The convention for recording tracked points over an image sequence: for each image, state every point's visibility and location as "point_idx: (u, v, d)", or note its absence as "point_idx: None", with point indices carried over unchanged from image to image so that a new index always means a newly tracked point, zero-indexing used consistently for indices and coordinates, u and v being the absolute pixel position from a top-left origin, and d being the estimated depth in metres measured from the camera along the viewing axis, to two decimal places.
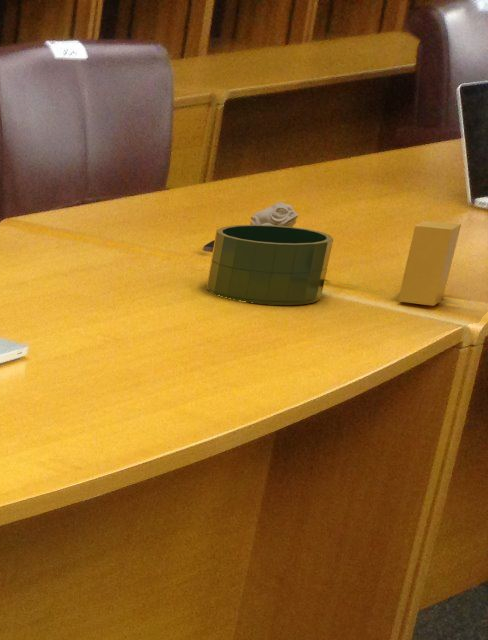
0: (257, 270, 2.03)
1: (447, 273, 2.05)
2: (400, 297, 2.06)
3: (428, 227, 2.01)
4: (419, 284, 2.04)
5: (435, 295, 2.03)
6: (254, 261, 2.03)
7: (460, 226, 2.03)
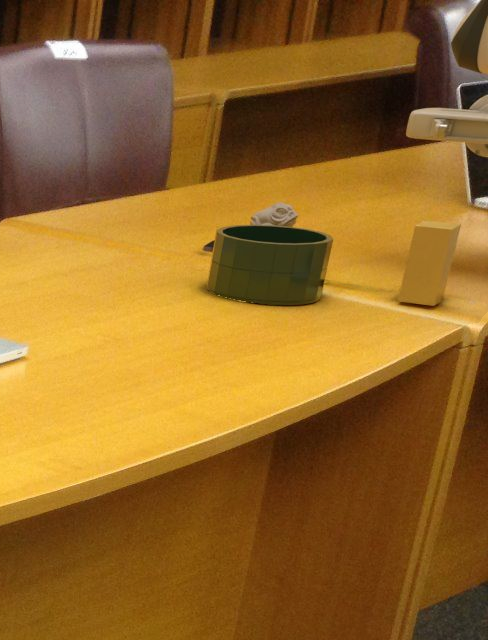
0: (257, 270, 2.03)
1: (447, 273, 2.05)
2: (400, 297, 2.06)
3: (428, 227, 2.01)
4: (419, 284, 2.04)
5: (435, 295, 2.03)
6: (254, 261, 2.03)
7: (460, 226, 2.03)
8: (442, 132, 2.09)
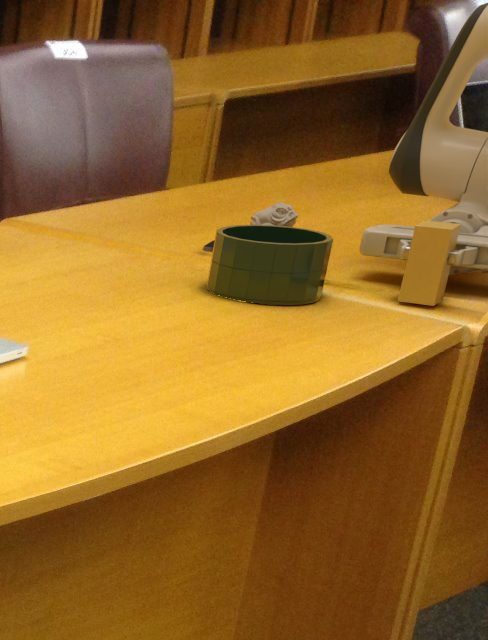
0: (257, 270, 2.03)
1: (447, 273, 2.05)
2: (400, 297, 2.06)
3: (428, 227, 2.01)
4: (419, 284, 2.04)
5: (435, 295, 2.03)
6: (254, 261, 2.03)
7: (460, 226, 2.03)
8: (408, 254, 2.05)
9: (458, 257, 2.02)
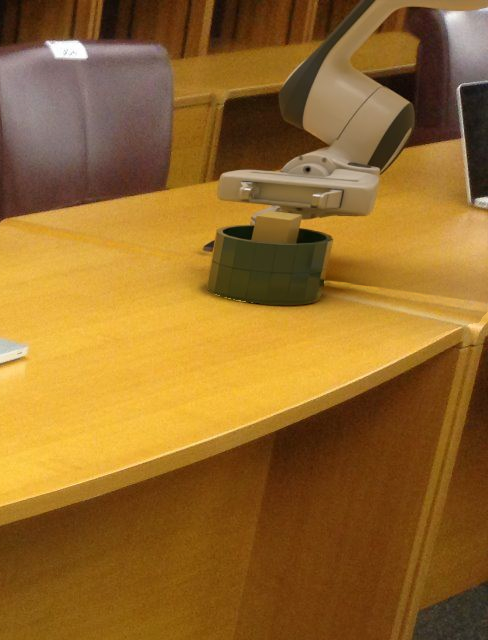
0: (257, 270, 2.03)
1: None
2: None
3: (268, 217, 2.05)
4: None
5: None
6: (254, 261, 2.03)
7: (301, 217, 2.06)
8: (246, 195, 2.07)
9: (321, 200, 2.01)
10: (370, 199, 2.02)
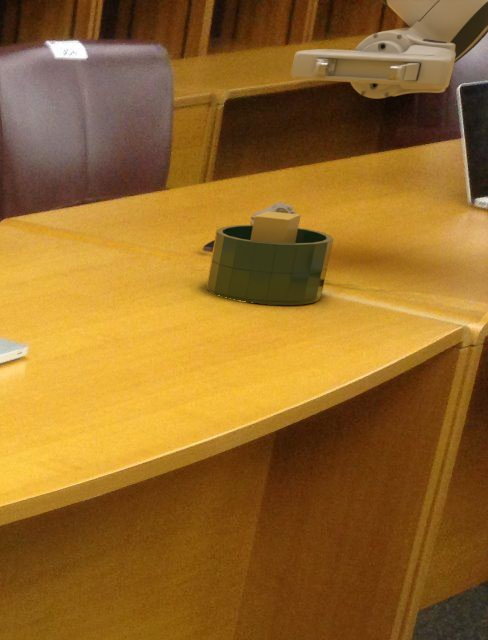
0: (257, 270, 2.03)
1: None
2: None
3: (267, 217, 2.05)
4: None
5: None
6: (254, 261, 2.03)
7: None
8: (322, 70, 2.08)
9: (399, 71, 2.03)
10: (447, 71, 2.04)
